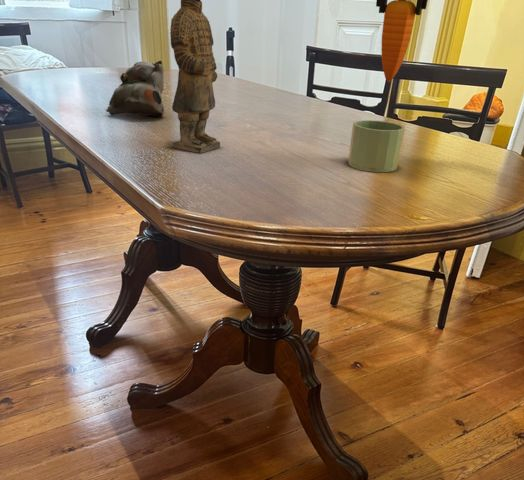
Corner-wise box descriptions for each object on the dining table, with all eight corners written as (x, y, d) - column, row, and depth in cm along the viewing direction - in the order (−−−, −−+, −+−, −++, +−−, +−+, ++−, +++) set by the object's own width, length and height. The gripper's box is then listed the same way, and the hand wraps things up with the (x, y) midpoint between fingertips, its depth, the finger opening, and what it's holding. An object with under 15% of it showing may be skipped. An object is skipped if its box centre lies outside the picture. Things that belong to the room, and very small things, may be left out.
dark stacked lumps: (97, 113, 123) (104, 53, 122) (141, 130, 132) (148, 74, 131) (128, 102, 113) (136, 37, 112) (174, 122, 121) (182, 61, 120)
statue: (196, 155, 95) (191, -48, 79) (164, 148, 99) (153, -49, 82) (228, 145, 103) (229, -42, 86) (197, 139, 106) (193, -43, 89)
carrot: (398, 85, 83) (418, -30, 75) (369, 81, 85) (386, -31, 77) (407, 82, 87) (427, -27, 79) (378, 79, 89) (395, -28, 80)
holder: (399, 163, 98) (407, 123, 94) (393, 174, 91) (401, 132, 87) (353, 157, 100) (358, 118, 96) (343, 168, 93) (349, 126, 89)
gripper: (360, -150, 70) (342, 10, 80) (491, -152, 66) (455, 17, 76) (368, -137, 76) (350, 11, 86) (489, -139, 71) (456, 17, 82)
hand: (400, 12), depth 81 cm, fingers closed on carrot, 4 cm apart
